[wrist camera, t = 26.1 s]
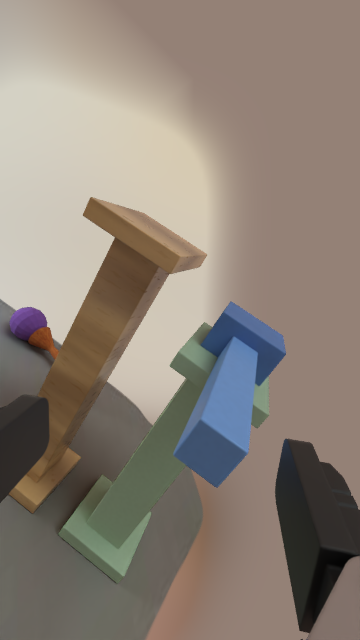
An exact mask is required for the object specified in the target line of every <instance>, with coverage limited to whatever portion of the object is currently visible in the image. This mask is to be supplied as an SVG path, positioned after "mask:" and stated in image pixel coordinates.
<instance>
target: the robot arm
mask: <svg viewBox="0 0 360 640" xmlns="http://www.w3.org/2000/svg"><path fill="white" fill-rule="evenodd" d="M49 437H50V435H49V403H48V400H47V399H46V398H44V397H38V396H32V395H22V396H20V397H19V398H17V399H16V400H15V401H13V402H12V403H10V404H9V405H7V406H5V407H2V408H0V503H1V502H2V500H3V499H4V498H5V497H6V496H7V495H8V494H9V493H10V492H11V490H12V489H13V488H14V487H15V486H16V485H17V484H18V483H19V482H20V480H21V479H22V478H23V477H24V476H25V475H26V474H27V473H28V472H29V471H30V469H31V468H32V467H33V466H34V465H35V464H36V463H37V462H38V461H39V459H40V458H41V457H42V456H43V455H44V453H45V451H46V449H47V447H48V443H49ZM275 494H276V495H275V497H276V505H277V511H278V516H279V521H280V526H281V532H282V538H283V543H284V549H285V554H286V559H287V565H288V570H289V575H290V581H291V586H292V592H293V597H294V602H295V608H296V614H297V619H298V624H299V630H300V631H303V632H307V633H310V634H309V636H308V637H307V639H306V640H360V510H358V506H357V504H356V502H355V500H354V498H353V496H351V492H350V490H349V488H348V486H347V484H346V482H345V480H344V478H343V477H342V476H341V475H340V474H339V473H338V471H336V469H335V468H334V467H333V466H332V465H331V464H329V463H324V462H320V461H319V459H318V456H317V454H316V452H315V450H314V447H313V445H312V444H311V443H310V442H304V441H298V440H292V439H285V440H284V443H283V447H282V453H281V458H280V463H279V468H278V473H277V479H276V488H275ZM301 640H303V639H301Z"/></svg>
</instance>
